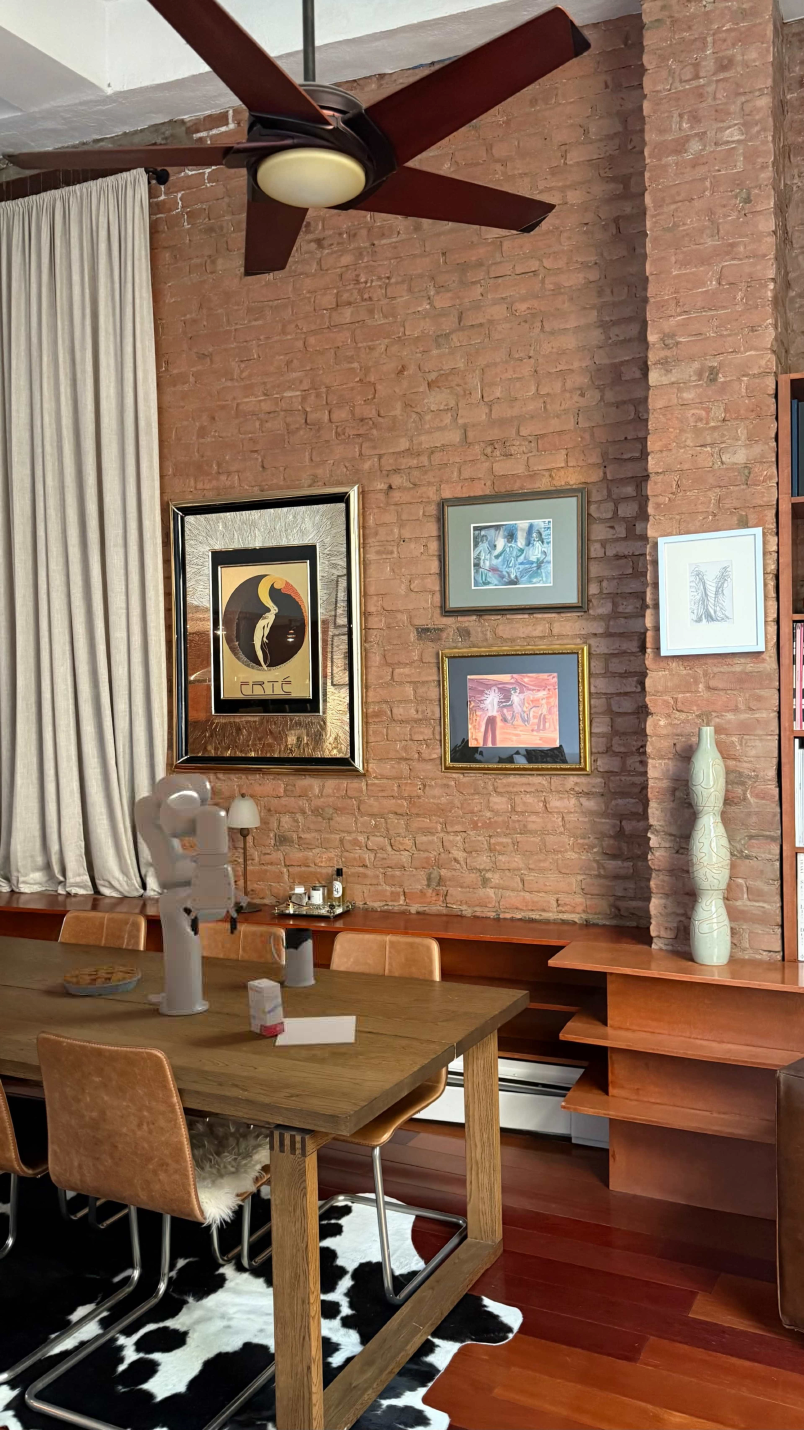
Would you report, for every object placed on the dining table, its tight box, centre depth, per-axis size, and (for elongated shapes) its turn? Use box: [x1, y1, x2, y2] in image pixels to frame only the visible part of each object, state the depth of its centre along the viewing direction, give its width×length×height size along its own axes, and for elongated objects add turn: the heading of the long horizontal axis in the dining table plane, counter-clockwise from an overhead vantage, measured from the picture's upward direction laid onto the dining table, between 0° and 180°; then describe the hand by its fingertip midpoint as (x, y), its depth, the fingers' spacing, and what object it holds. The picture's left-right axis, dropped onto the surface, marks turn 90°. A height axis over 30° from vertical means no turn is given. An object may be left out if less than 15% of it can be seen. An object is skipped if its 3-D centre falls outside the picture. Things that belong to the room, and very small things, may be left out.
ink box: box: [247, 978, 285, 1038], centre depth 261 cm, size 9×5×12 cm, turn 33°
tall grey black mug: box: [270, 927, 316, 988], centre depth 311 cm, size 9×14×15 cm, turn 58°
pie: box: [61, 964, 142, 996], centre depth 311 cm, size 22×22×5 cm
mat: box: [275, 1015, 357, 1047], centre depth 261 cm, size 18×22×1 cm
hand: (214, 933), depth 260 cm, fingers open, 8 cm apart
